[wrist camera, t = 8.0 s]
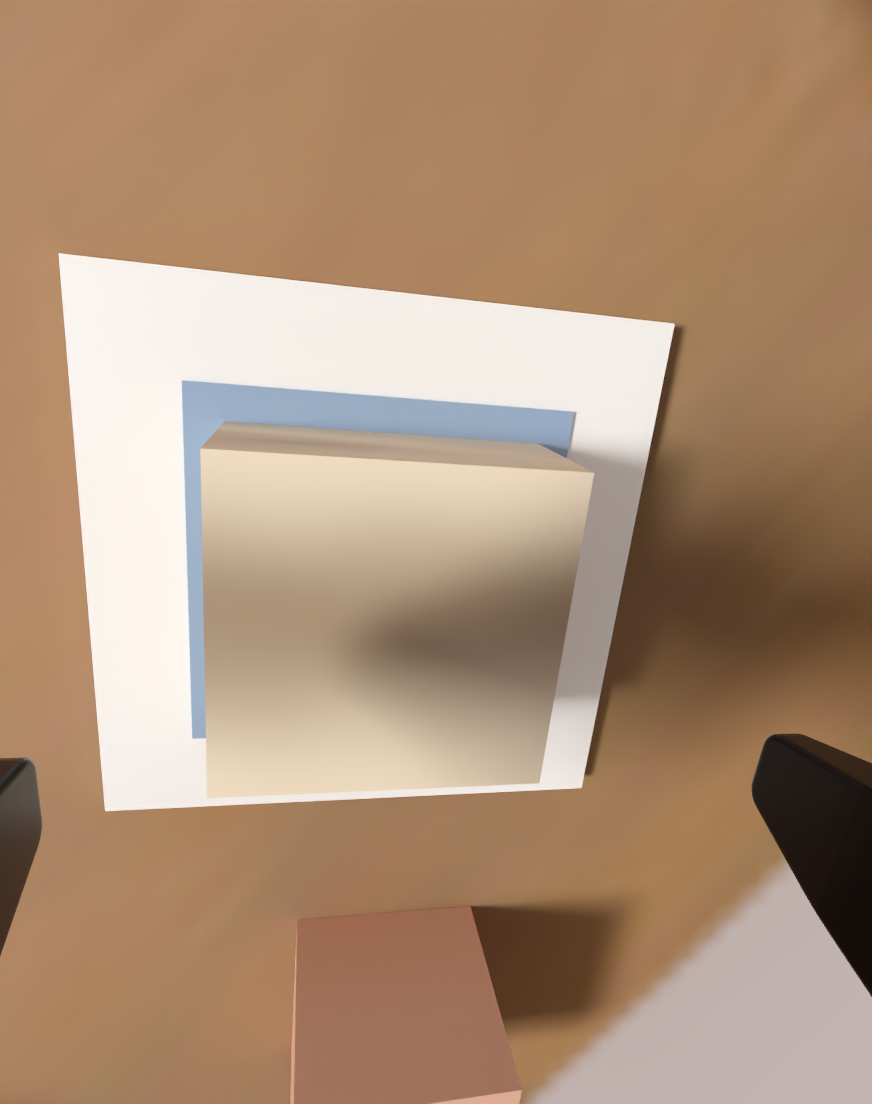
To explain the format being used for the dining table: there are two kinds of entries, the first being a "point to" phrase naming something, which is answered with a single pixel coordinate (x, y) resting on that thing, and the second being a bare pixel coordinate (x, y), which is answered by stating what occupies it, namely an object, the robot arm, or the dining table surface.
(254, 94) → the dining table surface
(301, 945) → the terracotta cube
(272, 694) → the maple block
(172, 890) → the dining table surface
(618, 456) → the board
